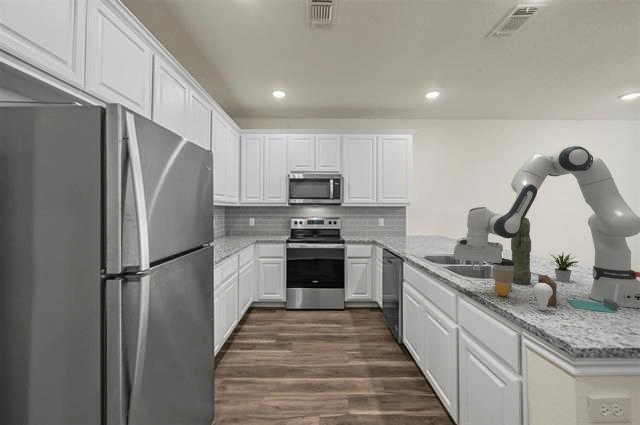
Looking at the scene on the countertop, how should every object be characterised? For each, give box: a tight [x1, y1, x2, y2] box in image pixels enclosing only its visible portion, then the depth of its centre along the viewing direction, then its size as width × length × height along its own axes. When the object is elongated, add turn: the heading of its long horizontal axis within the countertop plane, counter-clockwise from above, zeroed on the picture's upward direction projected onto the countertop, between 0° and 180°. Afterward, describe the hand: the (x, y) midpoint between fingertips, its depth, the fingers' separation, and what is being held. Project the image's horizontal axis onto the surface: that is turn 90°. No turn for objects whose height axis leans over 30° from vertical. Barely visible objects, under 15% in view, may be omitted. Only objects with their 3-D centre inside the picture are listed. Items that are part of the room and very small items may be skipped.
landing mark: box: [565, 298, 617, 314], centre depth 118 cm, size 12×12×1 cm
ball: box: [493, 283, 511, 297], centre depth 131 cm, size 6×6×6 cm
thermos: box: [510, 217, 532, 286], centre depth 152 cm, size 9×12×35 cm
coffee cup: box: [492, 257, 514, 292], centre depth 142 cm, size 9×9×15 cm
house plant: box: [549, 251, 579, 283], centre depth 156 cm, size 14×14×16 cm
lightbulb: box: [532, 283, 553, 312], centre depth 113 cm, size 6×6×11 cm
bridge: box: [537, 274, 558, 308], centre depth 124 cm, size 3×15×10 cm, turn 154°
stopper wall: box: [603, 298, 618, 312], centre depth 115 cm, size 2×6×3 cm, turn 154°
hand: (476, 270), depth 136 cm, fingers closed
